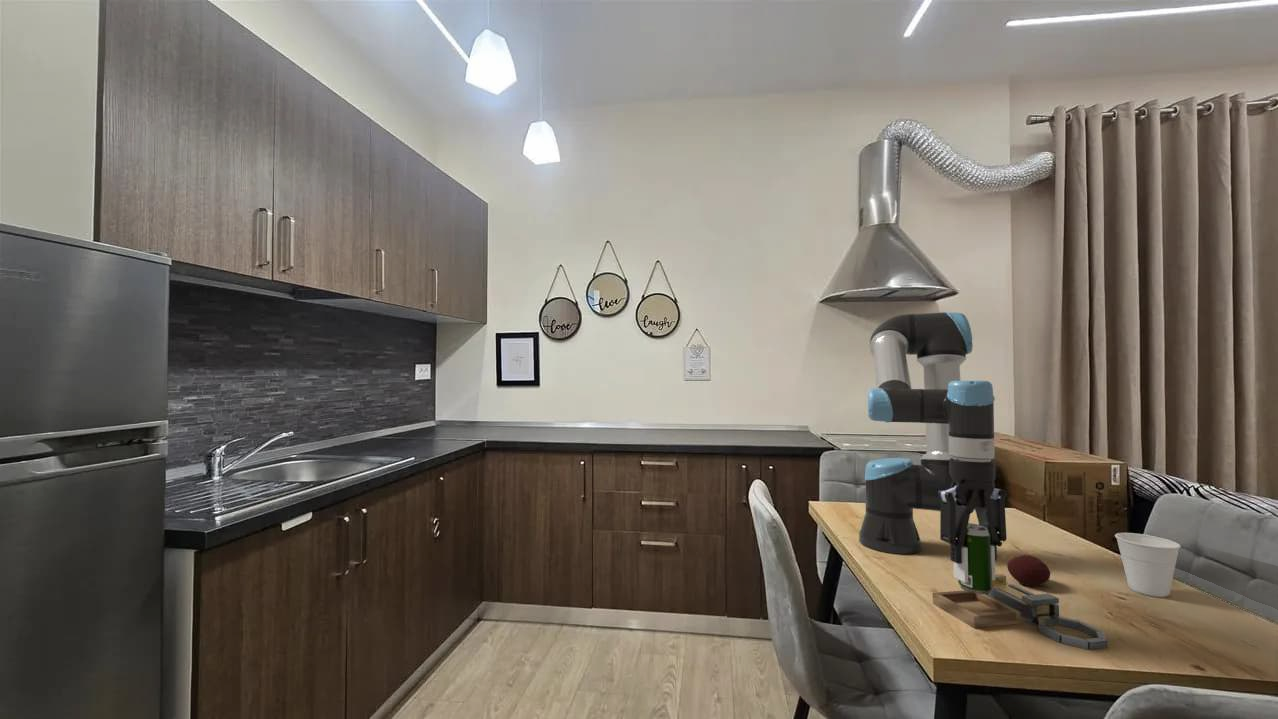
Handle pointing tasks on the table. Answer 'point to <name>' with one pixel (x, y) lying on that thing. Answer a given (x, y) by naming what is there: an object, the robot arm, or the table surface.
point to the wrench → (1049, 617)
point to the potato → (1028, 570)
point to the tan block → (1016, 594)
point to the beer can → (978, 560)
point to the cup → (1148, 562)
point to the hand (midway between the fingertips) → (974, 578)
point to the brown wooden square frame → (976, 609)
